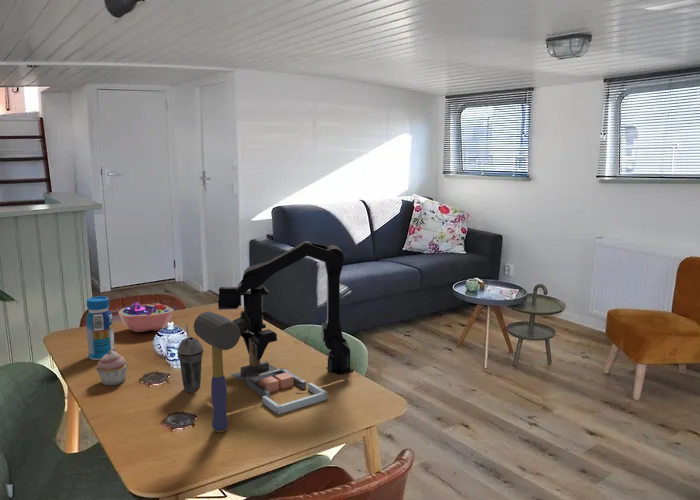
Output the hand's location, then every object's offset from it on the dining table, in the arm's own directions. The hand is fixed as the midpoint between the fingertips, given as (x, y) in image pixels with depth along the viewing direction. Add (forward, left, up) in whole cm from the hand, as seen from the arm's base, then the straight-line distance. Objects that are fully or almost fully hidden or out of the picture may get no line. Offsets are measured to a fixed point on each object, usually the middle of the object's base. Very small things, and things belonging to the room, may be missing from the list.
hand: (254, 357), depth 182 cm
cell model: (+13, -62, -6) cm, 64 cm away
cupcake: (+37, -20, -6) cm, 42 cm away
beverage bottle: (+34, -44, -6) cm, 56 cm away
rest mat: (0, 0, -6) cm, 6 cm away
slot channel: (0, +13, -6) cm, 14 cm away
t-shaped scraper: (0, 0, -5) cm, 5 cm away
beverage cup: (+20, -1, -6) cm, 21 cm away
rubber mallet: (+24, +27, -6) cm, 37 cm away
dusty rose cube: (+3, +13, -6) cm, 15 cm away
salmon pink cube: (-2, +13, -6) cm, 15 cm away
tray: (0, +24, -6) cm, 24 cm away
